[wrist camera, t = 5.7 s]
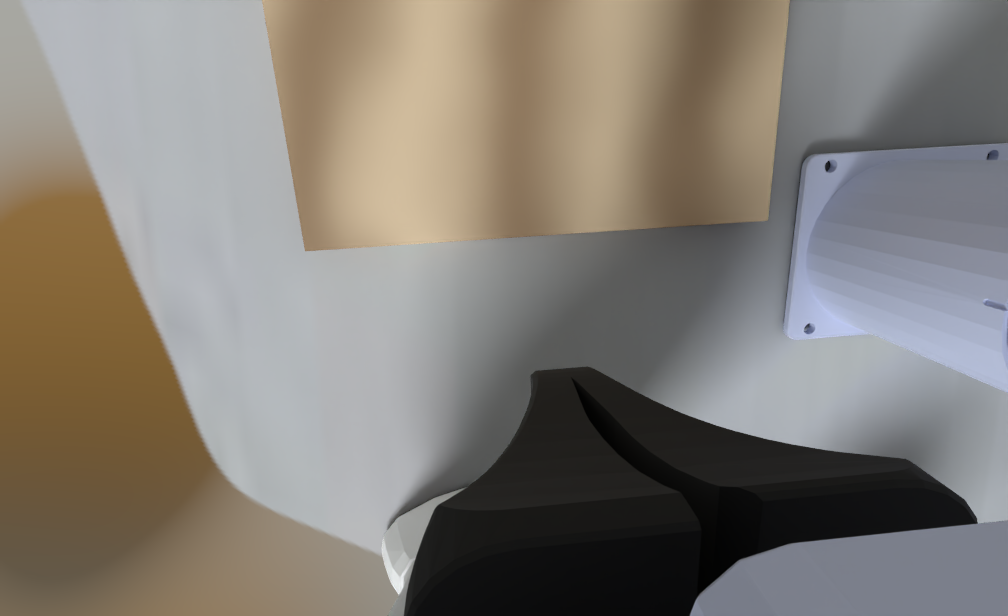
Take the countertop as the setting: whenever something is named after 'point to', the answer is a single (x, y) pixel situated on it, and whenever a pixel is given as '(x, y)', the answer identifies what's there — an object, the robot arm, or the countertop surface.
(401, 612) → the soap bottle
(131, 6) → the countertop surface
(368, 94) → the oak plank
